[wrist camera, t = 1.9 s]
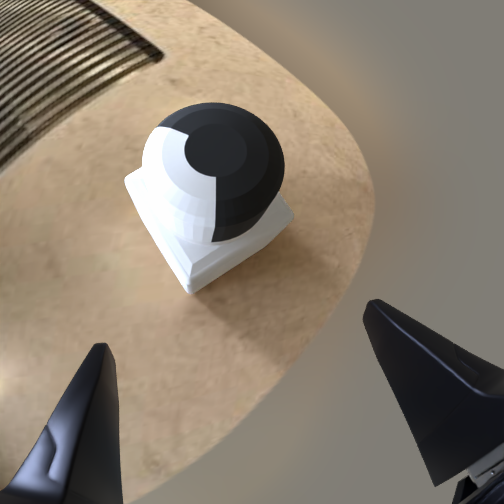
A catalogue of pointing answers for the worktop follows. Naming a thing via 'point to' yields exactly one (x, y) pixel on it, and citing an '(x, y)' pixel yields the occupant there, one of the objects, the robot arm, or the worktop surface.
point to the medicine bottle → (210, 190)
